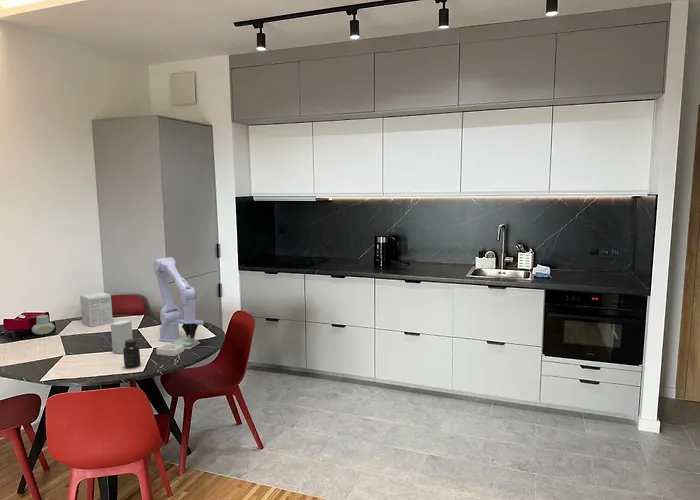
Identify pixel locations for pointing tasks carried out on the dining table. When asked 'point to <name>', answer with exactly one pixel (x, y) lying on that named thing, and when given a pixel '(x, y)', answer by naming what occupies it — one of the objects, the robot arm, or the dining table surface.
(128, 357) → the supplement bottle
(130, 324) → the skincare box
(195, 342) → the mat
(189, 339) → the lid
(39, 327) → the air freshener
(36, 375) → the dining table surface
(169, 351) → the tub
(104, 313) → the supplement box
